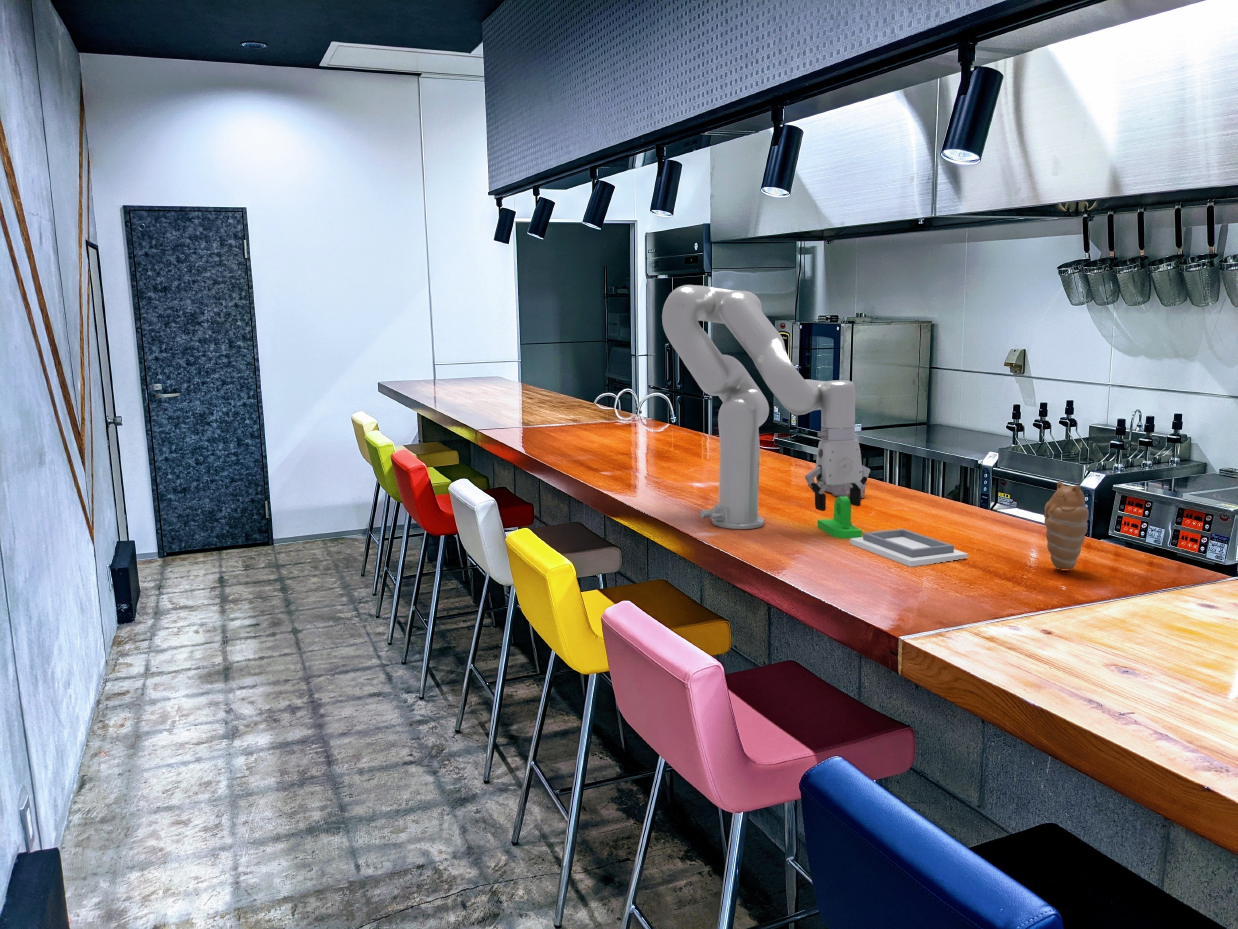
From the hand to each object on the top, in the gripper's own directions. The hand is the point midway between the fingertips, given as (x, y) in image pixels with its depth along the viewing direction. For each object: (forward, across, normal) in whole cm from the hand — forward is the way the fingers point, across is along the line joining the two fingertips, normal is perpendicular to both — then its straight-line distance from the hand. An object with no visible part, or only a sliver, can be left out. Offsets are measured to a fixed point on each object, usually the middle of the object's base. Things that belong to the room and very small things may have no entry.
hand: (838, 507), depth 216 cm
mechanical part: (+6, +1, +1) cm, 7 cm away
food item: (+6, +28, +36) cm, 46 cm away
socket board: (+7, +4, -19) cm, 21 cm away
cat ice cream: (+8, +23, -43) cm, 49 cm away
